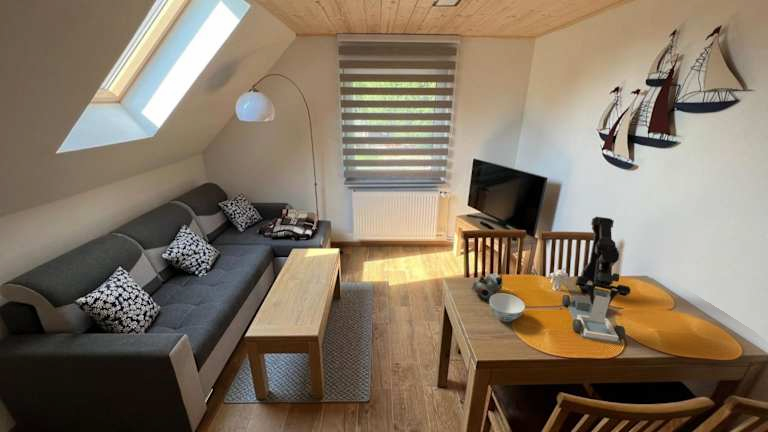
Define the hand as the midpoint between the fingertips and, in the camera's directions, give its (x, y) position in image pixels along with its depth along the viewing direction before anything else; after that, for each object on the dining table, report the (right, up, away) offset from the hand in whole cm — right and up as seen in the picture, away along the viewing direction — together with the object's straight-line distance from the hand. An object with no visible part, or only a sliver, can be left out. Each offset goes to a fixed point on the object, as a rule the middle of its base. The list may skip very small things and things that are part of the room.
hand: (599, 305), depth 136 cm
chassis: (+4, -10, +13) cm, 16 cm away
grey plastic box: (+1, -6, +3) cm, 7 cm away
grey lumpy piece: (-37, -3, +32) cm, 49 cm away
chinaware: (-34, -9, +14) cm, 38 cm away
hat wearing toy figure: (+1, -1, +36) cm, 36 cm away
